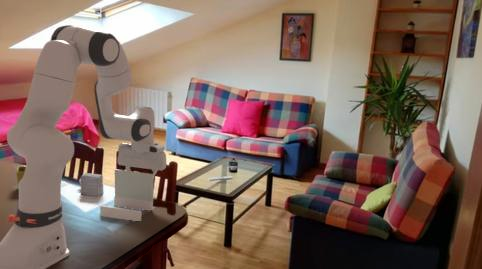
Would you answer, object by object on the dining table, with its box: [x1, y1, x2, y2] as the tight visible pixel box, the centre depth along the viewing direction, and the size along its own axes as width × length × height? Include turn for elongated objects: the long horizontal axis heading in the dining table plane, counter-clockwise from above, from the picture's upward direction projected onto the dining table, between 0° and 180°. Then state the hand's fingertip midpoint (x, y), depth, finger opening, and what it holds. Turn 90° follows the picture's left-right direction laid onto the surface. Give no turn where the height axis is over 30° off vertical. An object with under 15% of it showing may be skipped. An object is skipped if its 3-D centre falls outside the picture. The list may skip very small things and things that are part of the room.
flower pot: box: [16, 165, 26, 185], centre depth 168 cm, size 9×9×9 cm
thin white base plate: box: [99, 195, 154, 222], centre depth 152 cm, size 12×16×4 cm
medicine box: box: [80, 172, 104, 197], centre depth 168 cm, size 8×4×9 cm, turn 84°
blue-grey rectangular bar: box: [116, 206, 142, 211], centre depth 151 cm, size 3×10×2 cm, turn 81°
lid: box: [114, 168, 155, 203], centre depth 156 cm, size 12×16×1 cm
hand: (141, 177), depth 162 cm, fingers open, 8 cm apart
